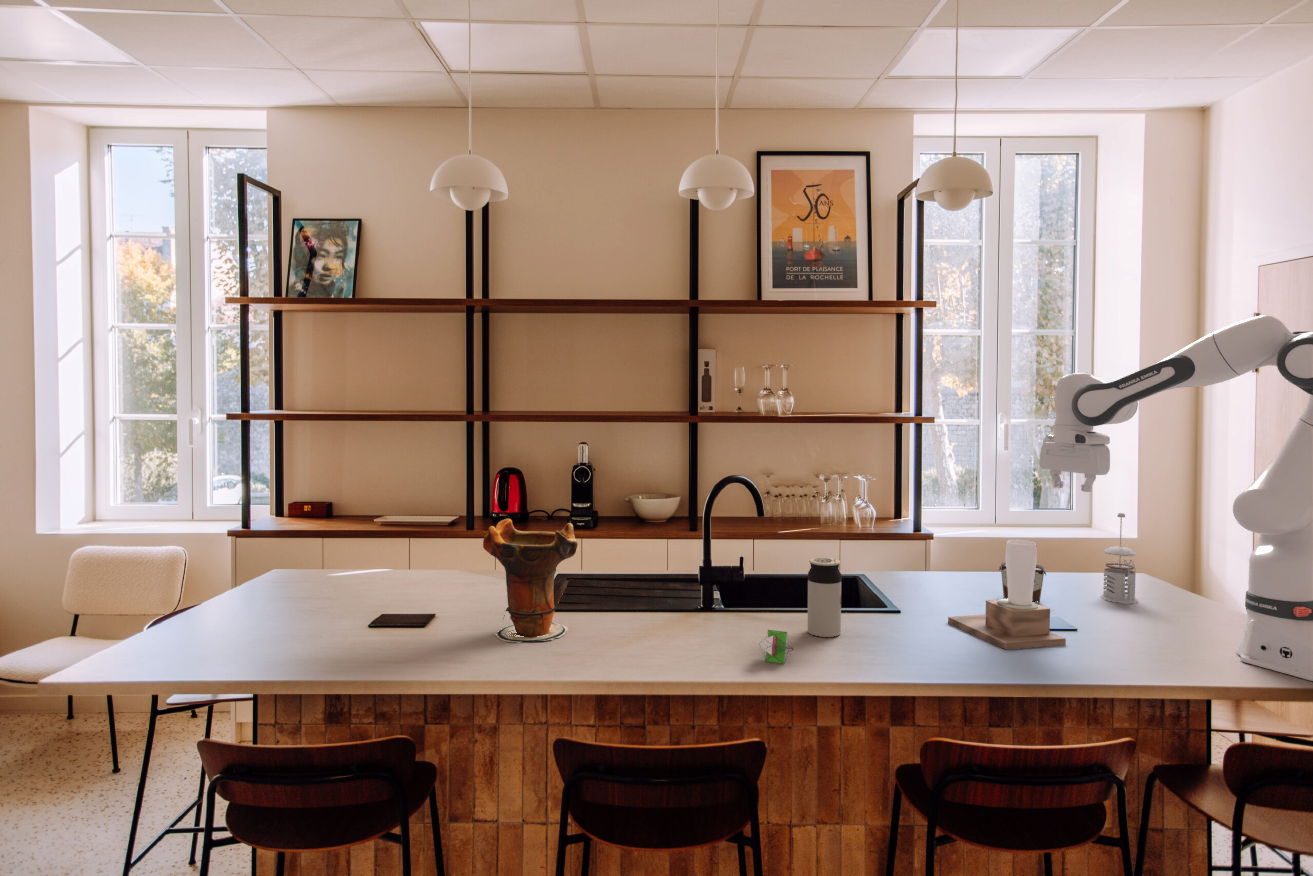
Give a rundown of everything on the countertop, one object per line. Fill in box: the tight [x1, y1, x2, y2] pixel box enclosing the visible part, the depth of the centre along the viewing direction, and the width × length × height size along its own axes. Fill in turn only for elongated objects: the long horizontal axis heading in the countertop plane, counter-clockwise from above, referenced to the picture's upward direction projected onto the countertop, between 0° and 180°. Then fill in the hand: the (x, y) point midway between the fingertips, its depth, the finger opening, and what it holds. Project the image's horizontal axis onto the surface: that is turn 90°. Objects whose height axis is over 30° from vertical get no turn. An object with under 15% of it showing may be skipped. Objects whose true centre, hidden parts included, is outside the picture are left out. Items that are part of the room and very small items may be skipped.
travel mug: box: [807, 557, 842, 638], centre depth 184 cm, size 8×8×18 cm
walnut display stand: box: [947, 598, 1067, 651], centre depth 184 cm, size 22×16×8 cm
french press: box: [1099, 512, 1140, 604], centre depth 215 cm, size 10×12×25 cm
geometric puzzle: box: [758, 629, 794, 665], centre depth 164 cm, size 7×7×8 cm
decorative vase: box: [482, 518, 579, 644], centre depth 185 cm, size 21×23×28 cm
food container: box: [998, 561, 1047, 602], centre depth 218 cm, size 12×6×10 cm, turn 58°
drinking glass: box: [1005, 539, 1038, 606], centre depth 182 cm, size 7×7×15 cm
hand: (1072, 489), depth 194 cm, fingers open, 8 cm apart
